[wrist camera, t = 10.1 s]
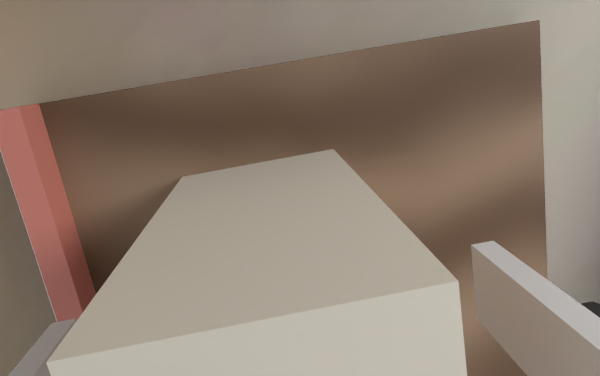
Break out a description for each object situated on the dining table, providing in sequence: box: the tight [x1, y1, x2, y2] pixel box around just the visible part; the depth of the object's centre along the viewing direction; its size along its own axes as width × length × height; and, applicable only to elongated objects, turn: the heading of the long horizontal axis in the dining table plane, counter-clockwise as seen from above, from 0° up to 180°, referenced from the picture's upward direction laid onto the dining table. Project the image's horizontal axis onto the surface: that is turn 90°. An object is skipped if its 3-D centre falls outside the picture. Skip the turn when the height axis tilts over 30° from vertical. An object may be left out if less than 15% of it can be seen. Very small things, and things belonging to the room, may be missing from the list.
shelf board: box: [39, 20, 547, 376], centre depth 20 cm, size 16×20×2 cm
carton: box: [46, 149, 467, 376], centre depth 14 cm, size 6×9×12 cm
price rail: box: [0, 104, 96, 322], centre depth 18 cm, size 16×1×2 cm, turn 10°
